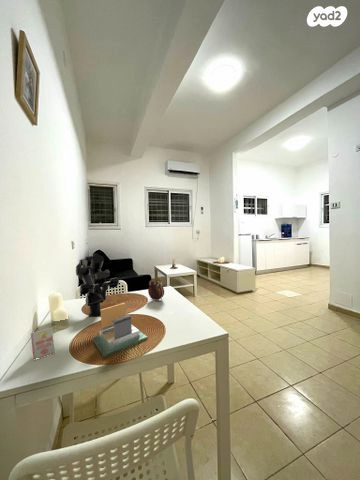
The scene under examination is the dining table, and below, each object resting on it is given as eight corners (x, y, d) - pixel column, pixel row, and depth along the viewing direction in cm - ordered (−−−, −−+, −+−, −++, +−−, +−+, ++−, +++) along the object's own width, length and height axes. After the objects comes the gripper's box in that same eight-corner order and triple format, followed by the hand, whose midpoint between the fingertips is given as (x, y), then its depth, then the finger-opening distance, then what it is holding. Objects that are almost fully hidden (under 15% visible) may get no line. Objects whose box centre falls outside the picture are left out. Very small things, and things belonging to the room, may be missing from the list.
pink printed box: (33, 356, 77) (31, 331, 76) (54, 349, 81) (51, 325, 80) (33, 360, 74) (30, 335, 73) (54, 353, 78) (52, 328, 77)
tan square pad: (102, 329, 86) (100, 309, 85) (125, 321, 93) (124, 302, 92) (102, 330, 85) (101, 310, 84) (126, 322, 92) (125, 303, 91)
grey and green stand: (92, 340, 86) (90, 316, 85) (131, 325, 97) (129, 304, 96) (104, 358, 73) (102, 329, 73) (147, 339, 84) (145, 314, 84)
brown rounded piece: (165, 300, 129) (164, 277, 128) (160, 302, 125) (159, 279, 124) (152, 297, 135) (151, 276, 134) (147, 300, 131) (146, 278, 130)
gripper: (78, 268, 95) (86, 296, 87) (116, 262, 107) (126, 286, 99) (76, 281, 102) (83, 308, 94) (112, 274, 113) (121, 298, 105)
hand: (104, 299), depth 98 cm, fingers closed
